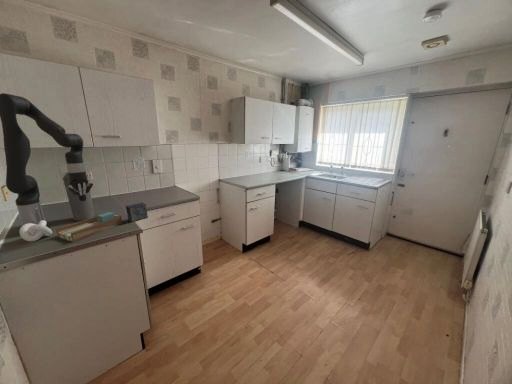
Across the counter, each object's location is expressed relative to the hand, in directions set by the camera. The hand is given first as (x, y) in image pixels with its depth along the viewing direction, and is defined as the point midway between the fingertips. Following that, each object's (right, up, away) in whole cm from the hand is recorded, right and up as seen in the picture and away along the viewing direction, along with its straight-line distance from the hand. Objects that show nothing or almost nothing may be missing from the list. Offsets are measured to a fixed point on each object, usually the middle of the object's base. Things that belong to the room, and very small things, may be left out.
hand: (83, 201), depth 118 cm
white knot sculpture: (-20, -21, -4) cm, 29 cm away
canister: (-19, -13, +24) cm, 33 cm away
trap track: (0, -18, +6) cm, 19 cm away
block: (+4, -13, +13) cm, 19 cm away
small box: (+19, -14, +23) cm, 32 cm away
